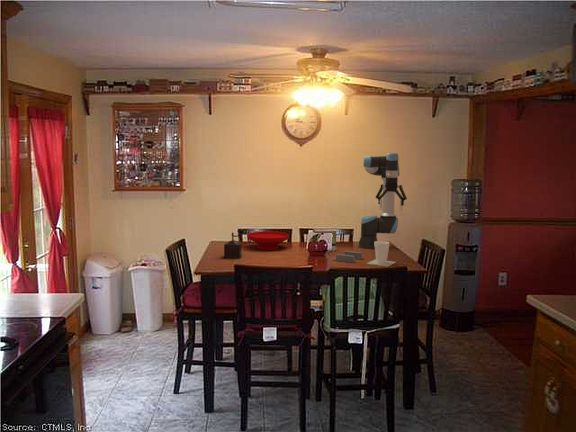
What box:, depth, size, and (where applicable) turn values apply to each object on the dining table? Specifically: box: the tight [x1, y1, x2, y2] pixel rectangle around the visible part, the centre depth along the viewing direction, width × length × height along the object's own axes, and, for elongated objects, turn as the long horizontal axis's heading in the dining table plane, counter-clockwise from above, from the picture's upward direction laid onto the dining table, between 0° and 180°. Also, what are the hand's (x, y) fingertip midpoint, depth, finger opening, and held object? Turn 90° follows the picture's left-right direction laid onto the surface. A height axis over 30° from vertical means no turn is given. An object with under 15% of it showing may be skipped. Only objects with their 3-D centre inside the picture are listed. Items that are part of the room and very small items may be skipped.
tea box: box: [312, 228, 337, 252], centre depth 375 cm, size 15×10×15 cm
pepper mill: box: [223, 228, 244, 260], centre depth 348 cm, size 16×11×18 cm
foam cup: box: [374, 240, 390, 264], centre depth 330 cm, size 10×9×13 cm
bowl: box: [246, 230, 290, 251], centre depth 382 cm, size 30×30×10 cm
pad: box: [366, 259, 397, 268], centre depth 331 cm, size 14×14×1 cm
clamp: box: [332, 250, 364, 264], centre depth 342 cm, size 16×14×4 cm
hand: (390, 210), depth 339 cm, fingers open, 13 cm apart
